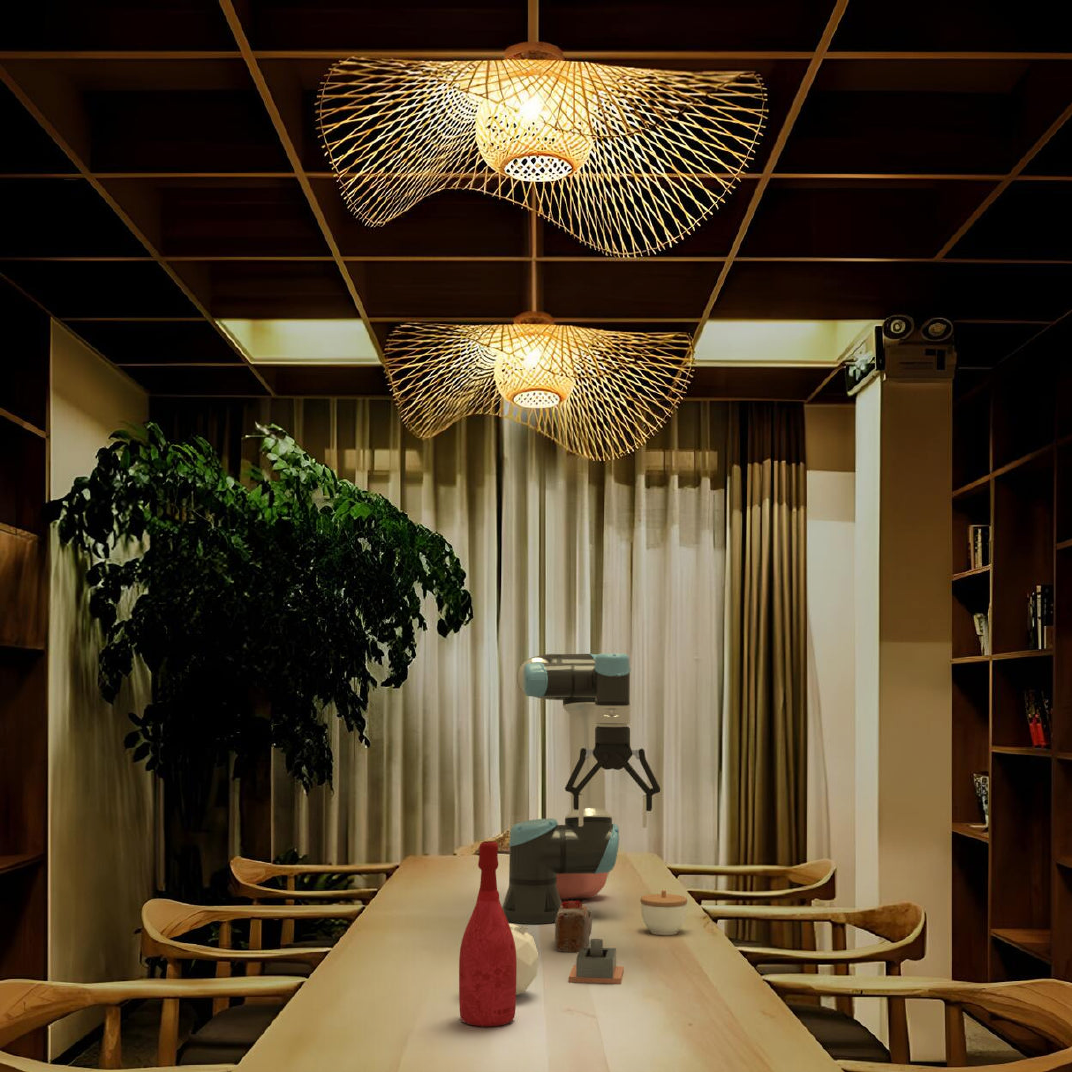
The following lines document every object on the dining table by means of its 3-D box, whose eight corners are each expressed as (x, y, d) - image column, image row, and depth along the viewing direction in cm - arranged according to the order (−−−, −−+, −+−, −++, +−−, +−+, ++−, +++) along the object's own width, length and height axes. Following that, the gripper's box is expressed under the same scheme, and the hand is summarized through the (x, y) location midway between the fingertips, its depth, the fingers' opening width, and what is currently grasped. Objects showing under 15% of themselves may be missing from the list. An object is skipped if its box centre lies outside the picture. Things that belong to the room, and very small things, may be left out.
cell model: (612, 905, 322) (611, 860, 323) (534, 904, 322) (534, 859, 323) (609, 894, 338) (609, 851, 340) (535, 893, 339) (535, 850, 340)
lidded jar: (685, 938, 281) (685, 895, 282) (637, 936, 283) (637, 893, 284) (689, 929, 292) (688, 887, 293) (643, 926, 294) (643, 886, 295)
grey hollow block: (581, 965, 250) (581, 947, 250) (616, 966, 249) (616, 948, 250) (576, 977, 240) (576, 958, 241) (612, 978, 239) (612, 959, 240)
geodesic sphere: (565, 958, 235) (522, 897, 238) (549, 975, 222) (504, 910, 225) (506, 1002, 237) (464, 941, 240) (487, 1022, 223) (443, 956, 226)
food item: (556, 939, 280) (556, 894, 281) (592, 940, 279) (592, 894, 280) (553, 952, 266) (553, 905, 267) (591, 953, 266) (591, 905, 267)
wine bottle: (481, 1010, 220) (483, 836, 223) (527, 1019, 214) (528, 840, 218) (446, 1022, 212) (448, 842, 215) (493, 1032, 206) (494, 846, 210)
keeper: (573, 970, 250) (573, 934, 251) (623, 971, 249) (623, 935, 250) (568, 982, 240) (568, 944, 241) (620, 983, 239) (620, 946, 240)
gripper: (552, 725, 266) (552, 827, 264) (670, 726, 263) (671, 829, 261) (556, 724, 274) (556, 823, 271) (671, 725, 271) (672, 825, 268)
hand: (612, 826), depth 266 cm, fingers open, 13 cm apart
